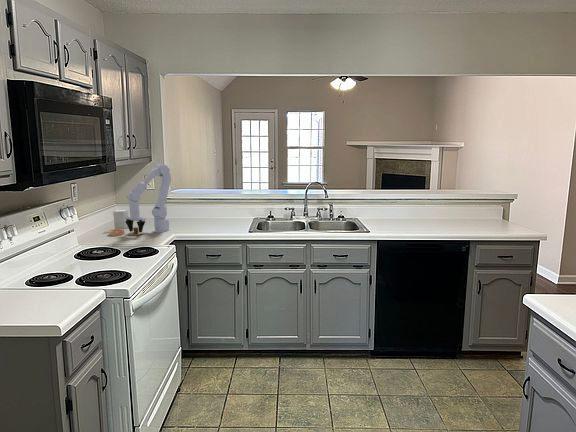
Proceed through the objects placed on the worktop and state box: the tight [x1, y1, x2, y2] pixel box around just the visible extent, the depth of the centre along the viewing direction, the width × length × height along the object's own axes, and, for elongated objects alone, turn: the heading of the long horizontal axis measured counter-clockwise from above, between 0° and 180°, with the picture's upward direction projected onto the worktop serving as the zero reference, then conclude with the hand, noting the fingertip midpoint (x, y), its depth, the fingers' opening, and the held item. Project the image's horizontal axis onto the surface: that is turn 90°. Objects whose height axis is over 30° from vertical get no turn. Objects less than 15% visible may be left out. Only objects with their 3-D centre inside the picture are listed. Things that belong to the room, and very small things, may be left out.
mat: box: [125, 232, 150, 238], centre depth 284 cm, size 11×11×1 cm
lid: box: [127, 226, 145, 237], centre depth 283 cm, size 10×10×4 cm
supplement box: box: [112, 209, 129, 230], centre depth 305 cm, size 7×7×13 cm
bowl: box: [108, 228, 126, 237], centre depth 284 cm, size 9×9×3 cm
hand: (135, 231), depth 283 cm, fingers open, 7 cm apart
